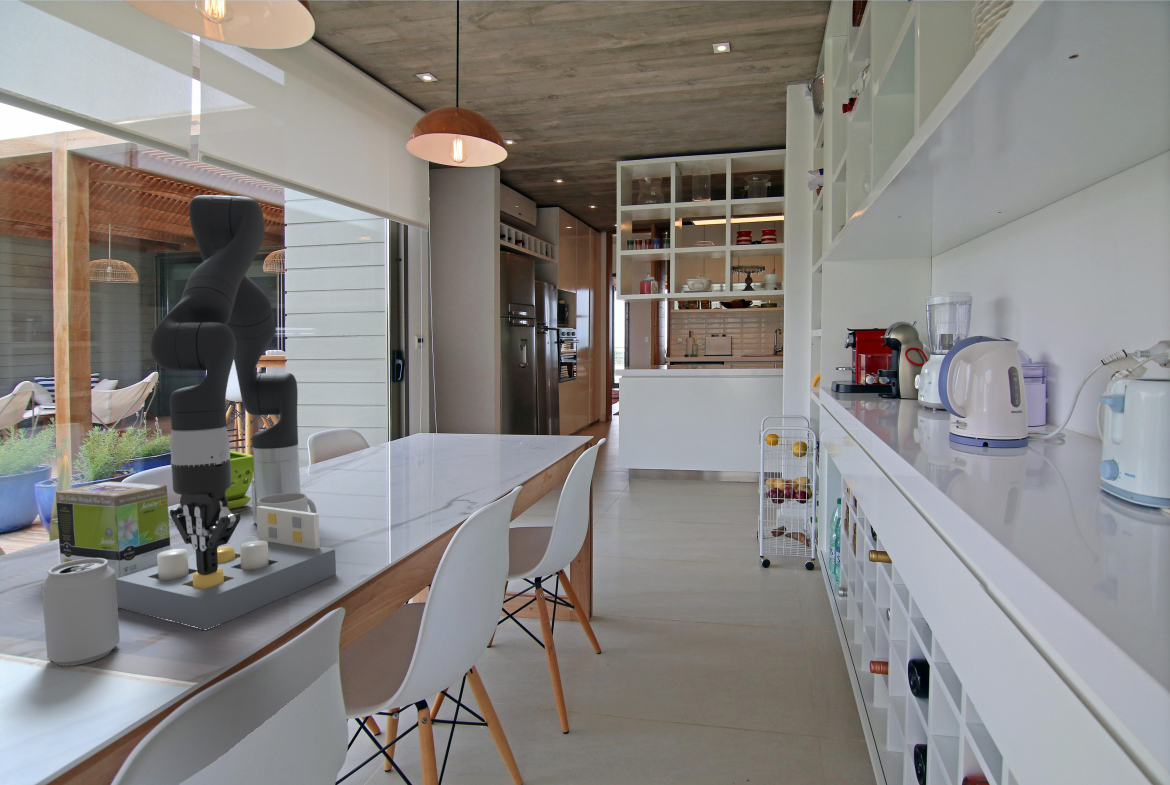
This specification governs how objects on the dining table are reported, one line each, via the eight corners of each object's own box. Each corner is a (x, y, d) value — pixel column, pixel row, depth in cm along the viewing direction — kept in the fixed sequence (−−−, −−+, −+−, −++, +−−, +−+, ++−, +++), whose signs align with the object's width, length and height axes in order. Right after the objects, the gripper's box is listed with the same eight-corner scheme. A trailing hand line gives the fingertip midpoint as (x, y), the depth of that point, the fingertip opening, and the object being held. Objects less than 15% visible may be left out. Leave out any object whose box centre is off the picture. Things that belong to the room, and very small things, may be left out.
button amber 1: (202, 582, 109) (201, 552, 108) (225, 574, 112) (223, 545, 112) (219, 585, 107) (217, 555, 107) (241, 577, 111) (239, 548, 110)
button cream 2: (235, 577, 105) (234, 546, 105) (257, 568, 109) (255, 539, 109) (253, 580, 104) (251, 549, 103) (274, 572, 107) (273, 542, 107)
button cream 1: (153, 586, 101) (151, 555, 101) (178, 578, 105) (176, 547, 105) (170, 590, 100) (168, 558, 99) (195, 581, 103) (193, 550, 103)
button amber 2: (188, 607, 98) (186, 575, 98) (213, 598, 102) (211, 566, 101) (206, 612, 97) (204, 579, 96) (231, 602, 100) (229, 570, 100)
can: (73, 642, 89) (67, 555, 88) (132, 640, 90) (126, 553, 89) (32, 670, 82) (24, 575, 81) (96, 667, 82) (89, 573, 81)
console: (117, 607, 101) (113, 540, 100) (254, 559, 122) (251, 503, 121) (205, 630, 92) (201, 557, 91) (336, 574, 114) (333, 514, 113)
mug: (260, 558, 123) (257, 505, 122) (258, 544, 131) (256, 495, 130) (322, 549, 128) (320, 498, 127) (317, 536, 136) (315, 488, 135)
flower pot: (171, 510, 159) (168, 458, 158) (230, 498, 170) (227, 449, 169) (200, 518, 151) (196, 463, 150) (259, 505, 162) (256, 454, 161)
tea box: (174, 563, 121) (169, 483, 120) (119, 582, 111) (113, 496, 110) (115, 555, 126) (110, 478, 124) (58, 573, 116) (52, 490, 115)
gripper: (146, 459, 97) (154, 575, 98) (207, 466, 91) (214, 588, 93) (195, 451, 104) (201, 559, 105) (254, 457, 98) (260, 571, 99)
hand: (207, 572), depth 99 cm, fingers closed
